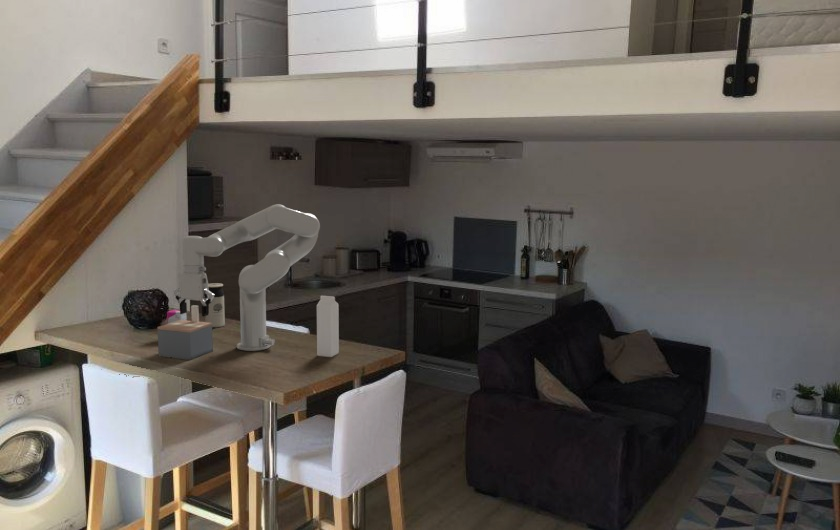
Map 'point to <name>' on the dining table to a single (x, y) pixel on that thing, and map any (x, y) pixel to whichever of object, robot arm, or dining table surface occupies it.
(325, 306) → the milk
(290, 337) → the dining table surface
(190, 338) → the carton
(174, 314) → the supplement box
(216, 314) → the travel mug
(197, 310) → the lid
